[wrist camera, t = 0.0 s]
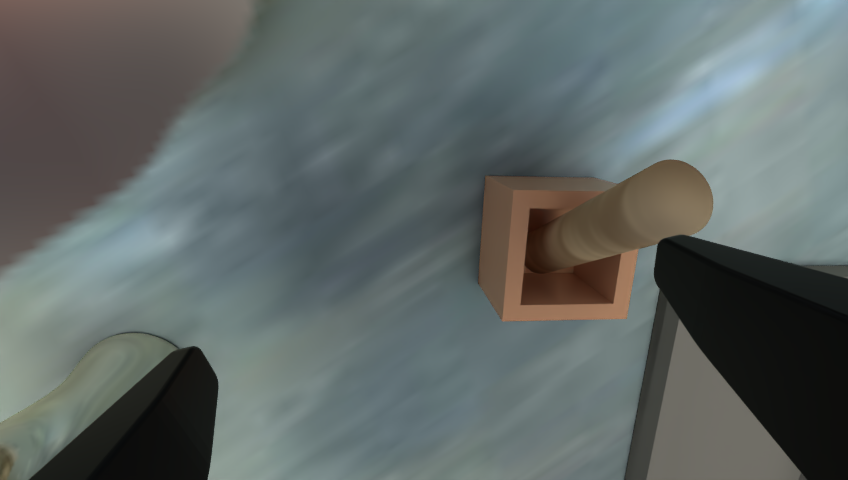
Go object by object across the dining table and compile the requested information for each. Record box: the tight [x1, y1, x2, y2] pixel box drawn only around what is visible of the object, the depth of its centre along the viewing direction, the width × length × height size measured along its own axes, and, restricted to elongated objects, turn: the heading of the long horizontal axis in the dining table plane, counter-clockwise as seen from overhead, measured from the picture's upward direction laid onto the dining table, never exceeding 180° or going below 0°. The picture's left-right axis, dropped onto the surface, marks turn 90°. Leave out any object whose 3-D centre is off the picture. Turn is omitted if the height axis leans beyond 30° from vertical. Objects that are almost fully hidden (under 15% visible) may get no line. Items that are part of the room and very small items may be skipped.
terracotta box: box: [478, 176, 638, 321], centre depth 22 cm, size 6×6×5 cm
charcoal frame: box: [625, 266, 848, 480], centre depth 29 cm, size 20×14×2 cm
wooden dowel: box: [524, 160, 713, 274], centre depth 18 cm, size 6×2×11 cm, turn 178°
